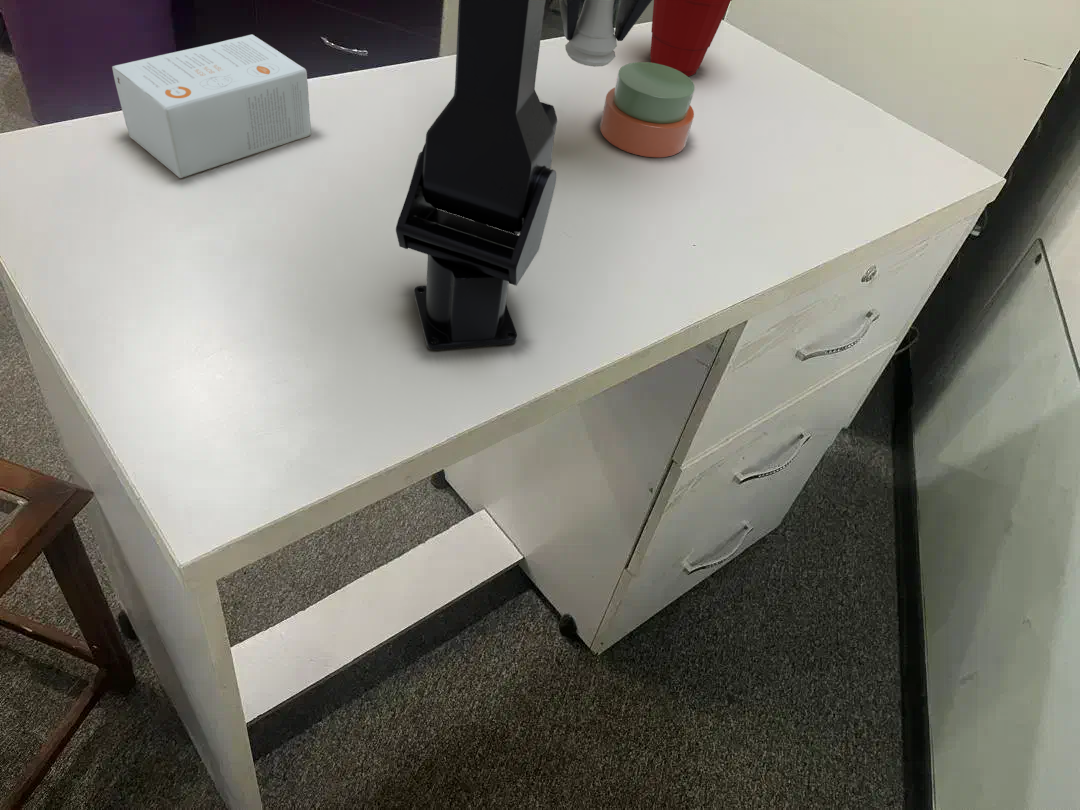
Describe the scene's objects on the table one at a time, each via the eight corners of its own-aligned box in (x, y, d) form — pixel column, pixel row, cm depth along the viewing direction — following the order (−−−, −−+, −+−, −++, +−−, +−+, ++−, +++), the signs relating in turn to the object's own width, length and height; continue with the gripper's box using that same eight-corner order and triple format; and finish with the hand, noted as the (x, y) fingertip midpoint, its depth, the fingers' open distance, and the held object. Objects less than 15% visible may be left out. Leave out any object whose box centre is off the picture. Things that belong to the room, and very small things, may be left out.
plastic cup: (715, 54, 97) (747, -52, 88) (720, 93, 89) (756, -19, 81) (629, 38, 96) (653, -70, 88) (628, 76, 89) (653, -38, 80)
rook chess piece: (611, 72, 66) (632, -28, 60) (559, 61, 66) (575, -41, 61) (617, 51, 69) (638, -47, 63) (568, 40, 69) (584, -58, 64)
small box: (260, 100, 74) (127, 137, 67) (253, 32, 70) (108, 63, 62) (313, 137, 71) (179, 180, 64) (308, 69, 66) (164, 107, 59)
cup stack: (699, 157, 79) (716, 102, 74) (616, 158, 76) (629, 101, 72) (666, 112, 84) (681, 59, 80) (588, 112, 82) (599, 57, 77)
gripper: (706, -200, 63) (658, 2, 74) (481, -226, 58) (466, -4, 69) (768, -160, 56) (705, 56, 67) (519, -186, 51) (496, 53, 62)
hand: (593, 38), depth 67 cm, fingers closed on rook chess piece, 4 cm apart
